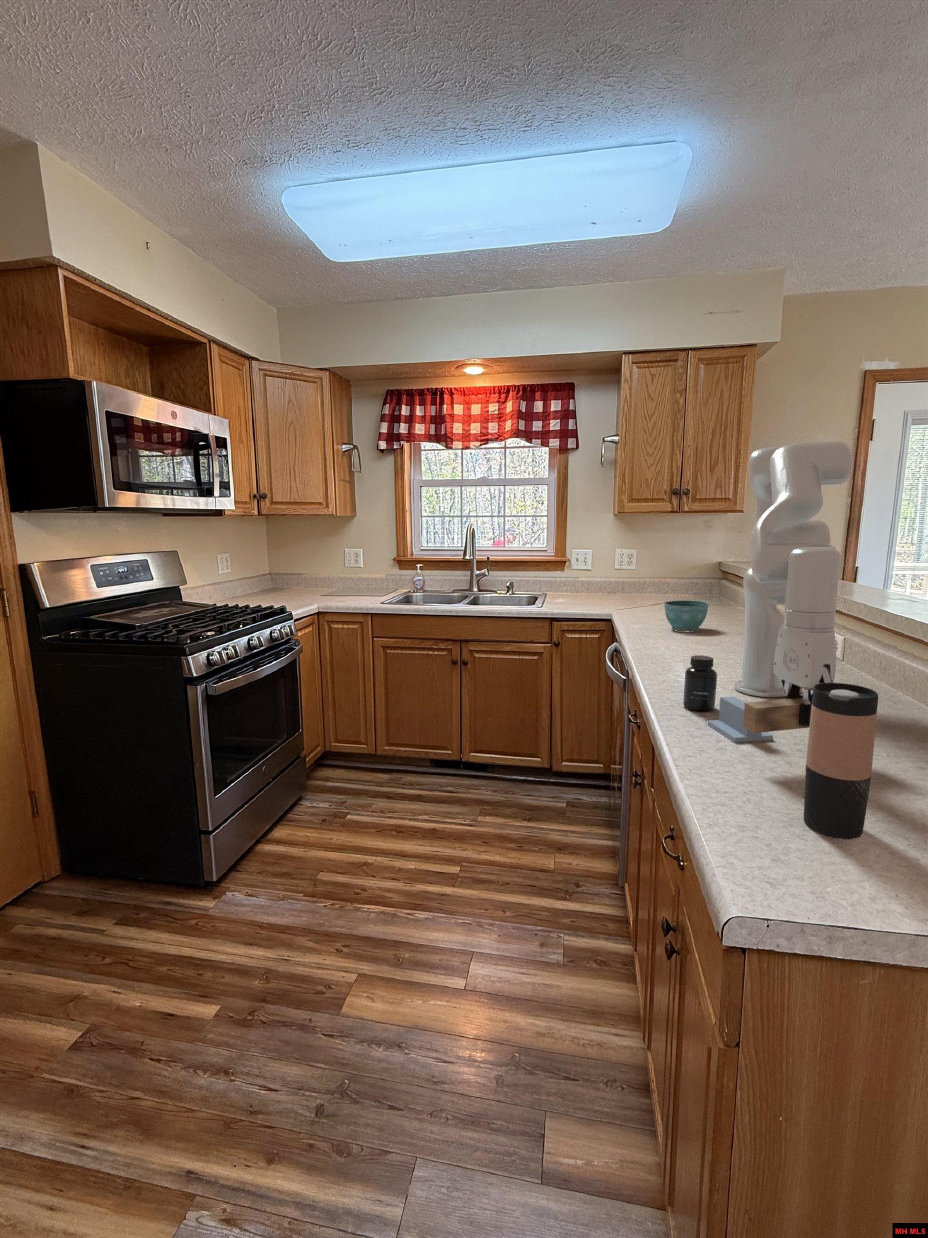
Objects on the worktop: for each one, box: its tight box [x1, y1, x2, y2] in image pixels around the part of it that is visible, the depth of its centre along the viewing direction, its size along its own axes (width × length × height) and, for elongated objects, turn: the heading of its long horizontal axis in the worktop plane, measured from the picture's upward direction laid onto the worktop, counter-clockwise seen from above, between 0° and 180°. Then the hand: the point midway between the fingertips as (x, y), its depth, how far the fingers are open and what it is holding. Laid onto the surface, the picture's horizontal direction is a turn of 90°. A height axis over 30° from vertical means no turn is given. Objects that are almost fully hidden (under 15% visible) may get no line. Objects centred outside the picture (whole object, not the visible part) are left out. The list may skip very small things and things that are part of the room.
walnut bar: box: [743, 698, 810, 733], centre depth 103 cm, size 20×3×4 cm, turn 100°
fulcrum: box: [707, 696, 774, 744], centre depth 118 cm, size 8×10×6 cm
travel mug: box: [803, 682, 879, 840], centre depth 80 cm, size 8×8×20 cm
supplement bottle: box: [682, 654, 718, 713], centre depth 133 cm, size 7×7×12 cm
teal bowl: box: [663, 599, 709, 633], centre depth 225 cm, size 16×16×11 cm
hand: (800, 720), depth 103 cm, fingers closed on walnut bar, 3 cm apart
